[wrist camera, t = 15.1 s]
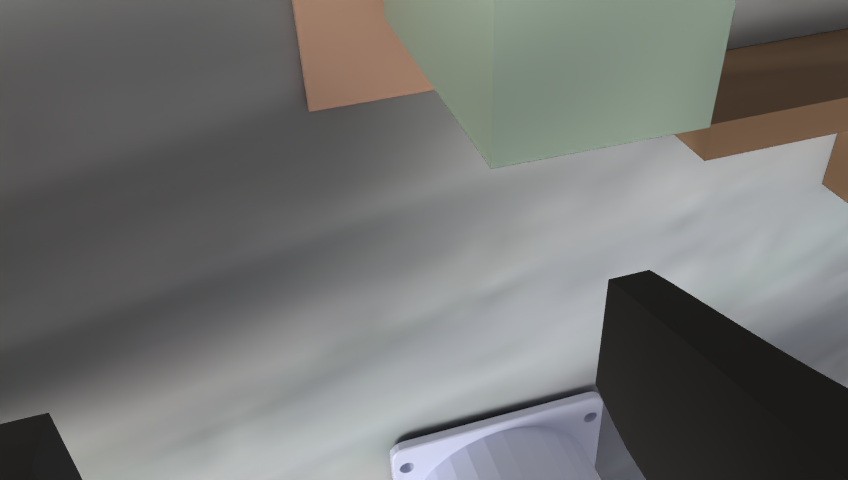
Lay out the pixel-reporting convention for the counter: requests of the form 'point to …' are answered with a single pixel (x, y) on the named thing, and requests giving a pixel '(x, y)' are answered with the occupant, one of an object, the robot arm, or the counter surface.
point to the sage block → (567, 69)
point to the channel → (781, 101)
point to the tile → (352, 54)
